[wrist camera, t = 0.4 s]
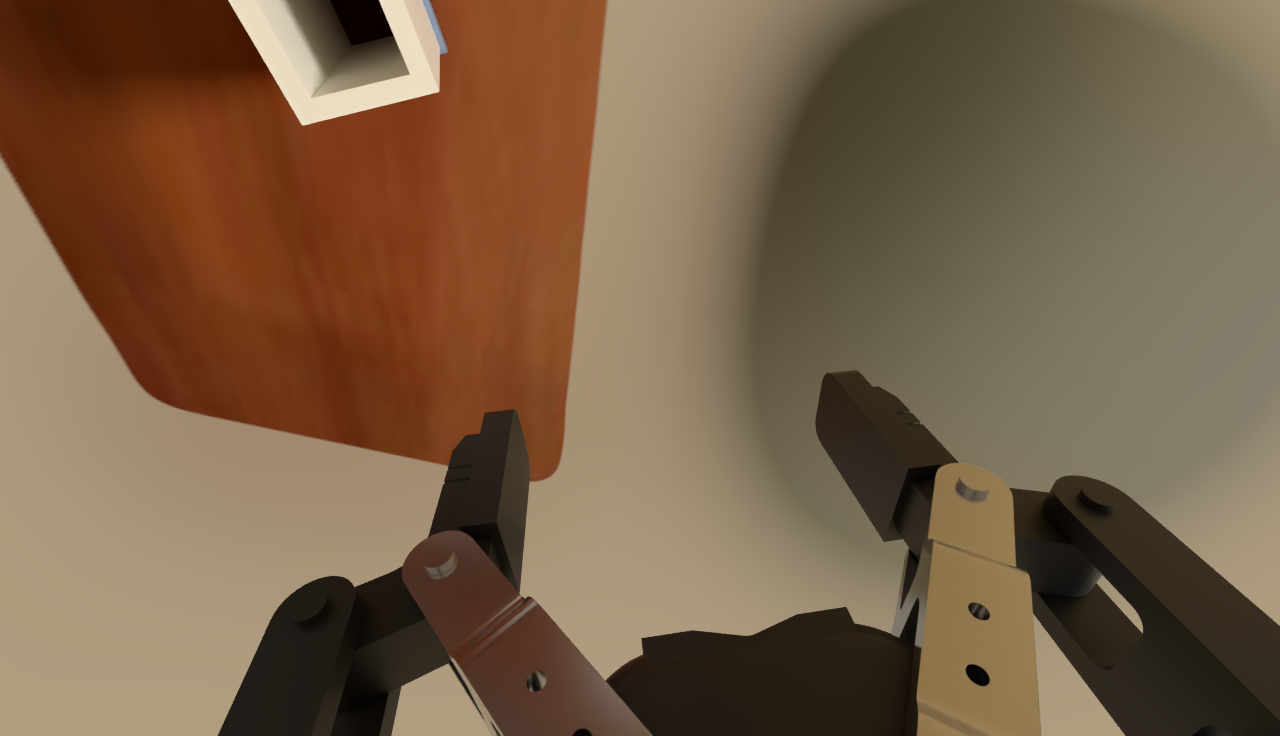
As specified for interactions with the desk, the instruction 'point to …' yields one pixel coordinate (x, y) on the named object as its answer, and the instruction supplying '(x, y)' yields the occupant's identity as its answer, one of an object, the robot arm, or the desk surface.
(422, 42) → the sleeve
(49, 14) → the desk surface
